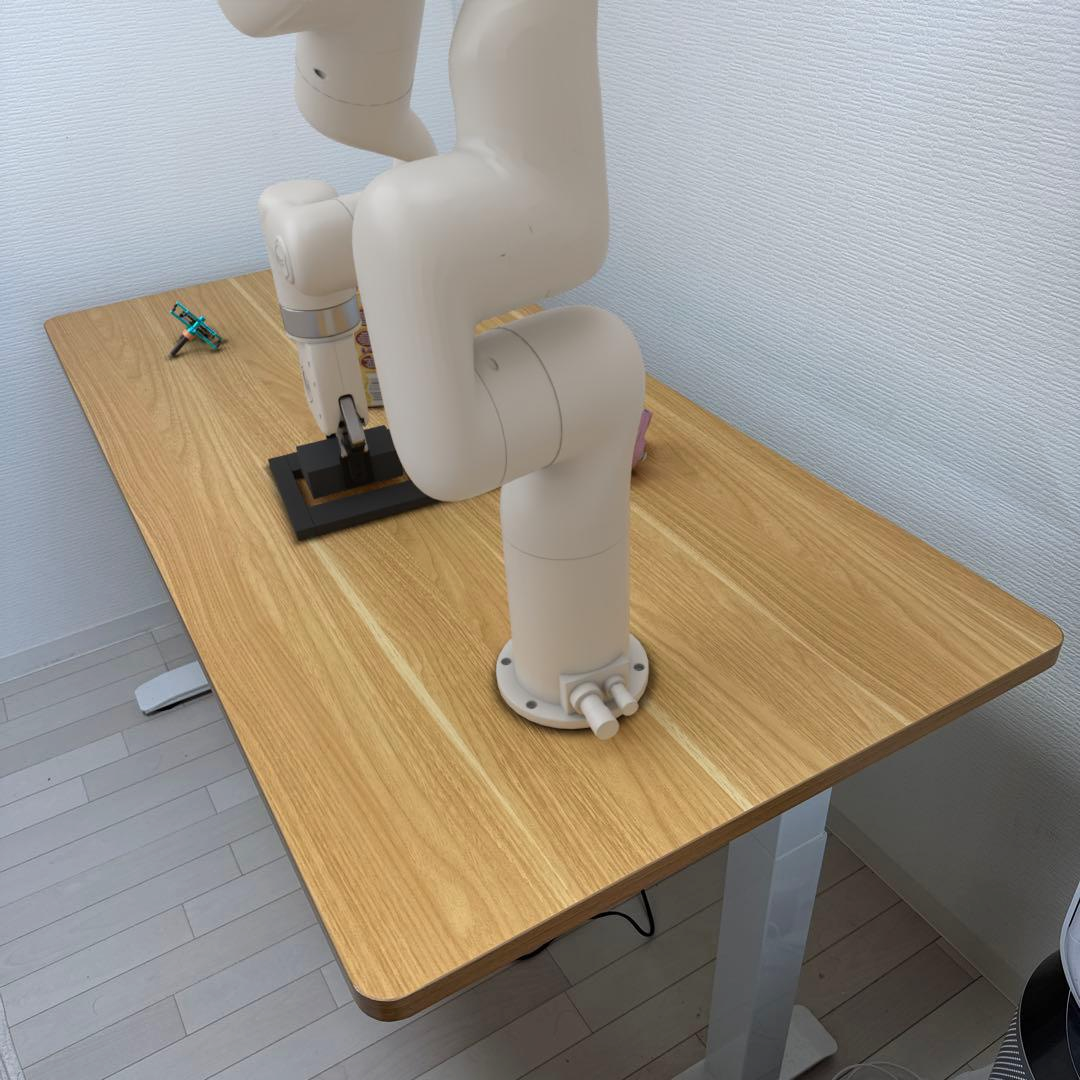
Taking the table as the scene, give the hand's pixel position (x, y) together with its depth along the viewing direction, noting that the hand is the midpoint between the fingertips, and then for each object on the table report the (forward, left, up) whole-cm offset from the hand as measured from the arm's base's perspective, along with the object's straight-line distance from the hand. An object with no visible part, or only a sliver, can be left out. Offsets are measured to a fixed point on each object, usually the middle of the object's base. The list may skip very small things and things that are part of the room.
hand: (352, 468), depth 105 cm
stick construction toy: (+48, +12, -2) cm, 50 cm away
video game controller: (-10, -28, -2) cm, 30 cm away
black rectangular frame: (0, -3, -2) cm, 4 cm away
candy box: (+20, -9, -2) cm, 22 cm away
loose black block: (0, 0, -1) cm, 1 cm away
